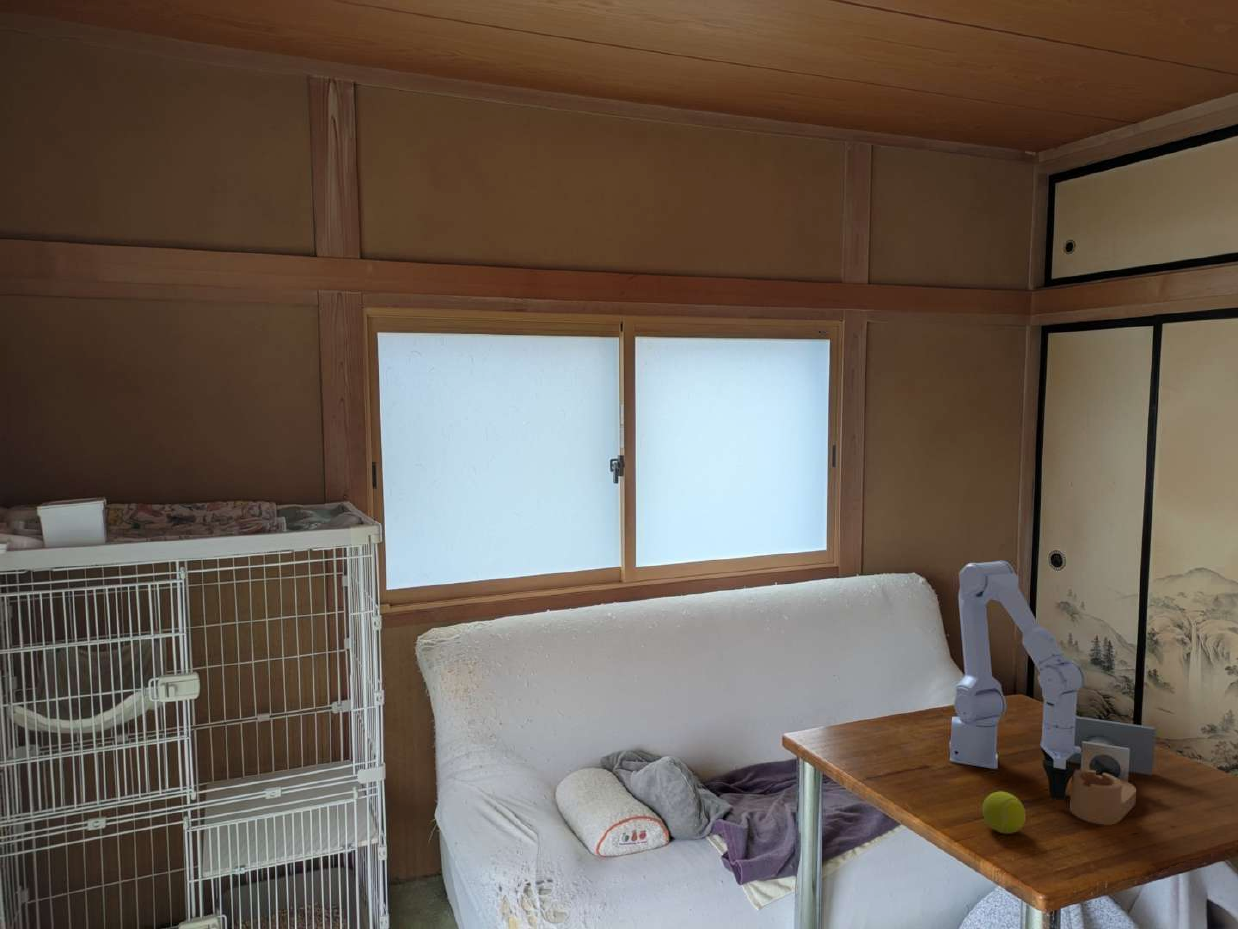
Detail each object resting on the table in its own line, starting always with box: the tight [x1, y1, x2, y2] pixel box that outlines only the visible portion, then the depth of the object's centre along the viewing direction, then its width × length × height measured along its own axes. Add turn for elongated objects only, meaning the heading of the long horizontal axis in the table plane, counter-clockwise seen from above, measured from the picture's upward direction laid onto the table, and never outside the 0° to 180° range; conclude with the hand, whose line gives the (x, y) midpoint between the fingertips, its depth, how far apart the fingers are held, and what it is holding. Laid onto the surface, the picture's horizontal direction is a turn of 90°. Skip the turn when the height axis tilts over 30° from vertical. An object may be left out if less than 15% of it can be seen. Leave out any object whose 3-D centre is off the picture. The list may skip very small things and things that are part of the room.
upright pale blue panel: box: [1066, 715, 1156, 783], centre depth 179 cm, size 20×12×10 cm, turn 66°
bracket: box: [1069, 769, 1137, 826], centre depth 165 cm, size 18×8×7 cm, turn 134°
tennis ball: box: [981, 791, 1027, 835], centre depth 155 cm, size 7×7×7 cm
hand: (1055, 790), depth 168 cm, fingers open, 7 cm apart
